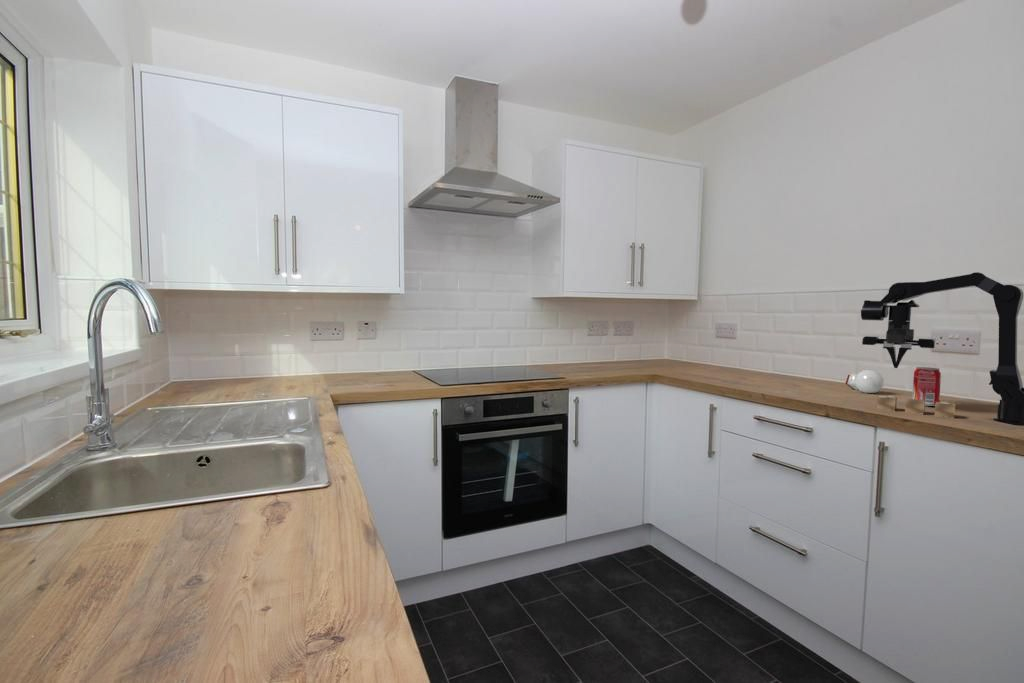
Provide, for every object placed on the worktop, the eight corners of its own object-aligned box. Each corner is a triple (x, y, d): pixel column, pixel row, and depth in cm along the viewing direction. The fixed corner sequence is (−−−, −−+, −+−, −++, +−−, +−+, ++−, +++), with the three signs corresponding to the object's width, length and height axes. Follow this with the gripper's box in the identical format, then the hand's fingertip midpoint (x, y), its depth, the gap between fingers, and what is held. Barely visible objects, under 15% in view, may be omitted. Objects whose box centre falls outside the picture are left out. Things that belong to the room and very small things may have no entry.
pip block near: (954, 416, 152) (955, 402, 152) (954, 418, 149) (955, 404, 148) (935, 414, 155) (936, 400, 155) (934, 416, 152) (935, 402, 151)
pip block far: (896, 409, 161) (897, 396, 161) (894, 411, 158) (895, 398, 158) (879, 407, 164) (879, 394, 164) (877, 409, 161) (878, 396, 161)
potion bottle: (873, 398, 191) (850, 396, 206) (895, 384, 191) (869, 383, 206) (859, 378, 192) (836, 378, 207) (880, 364, 192) (856, 365, 206)
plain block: (924, 413, 157) (925, 400, 157) (923, 415, 153) (924, 402, 153) (906, 410, 160) (907, 398, 160) (905, 412, 156) (905, 400, 156)
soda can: (944, 408, 166) (947, 369, 165) (919, 406, 167) (922, 368, 166) (930, 404, 173) (933, 367, 172) (907, 403, 174) (909, 366, 173)
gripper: (861, 320, 165) (858, 367, 166) (935, 322, 152) (931, 372, 153) (866, 320, 173) (863, 364, 174) (936, 322, 160) (932, 370, 161)
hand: (895, 368), depth 165 cm, fingers closed
